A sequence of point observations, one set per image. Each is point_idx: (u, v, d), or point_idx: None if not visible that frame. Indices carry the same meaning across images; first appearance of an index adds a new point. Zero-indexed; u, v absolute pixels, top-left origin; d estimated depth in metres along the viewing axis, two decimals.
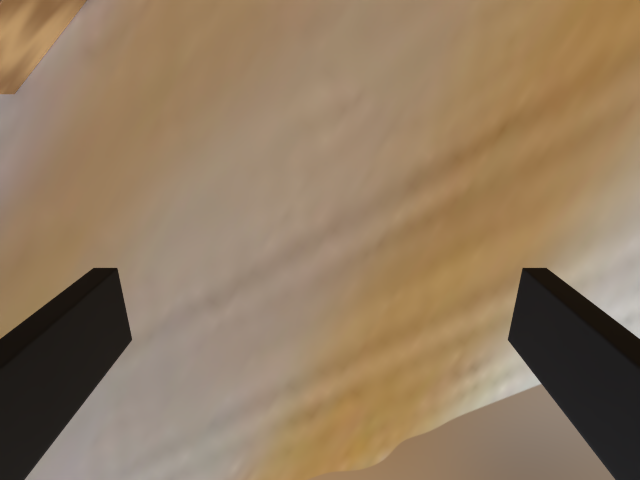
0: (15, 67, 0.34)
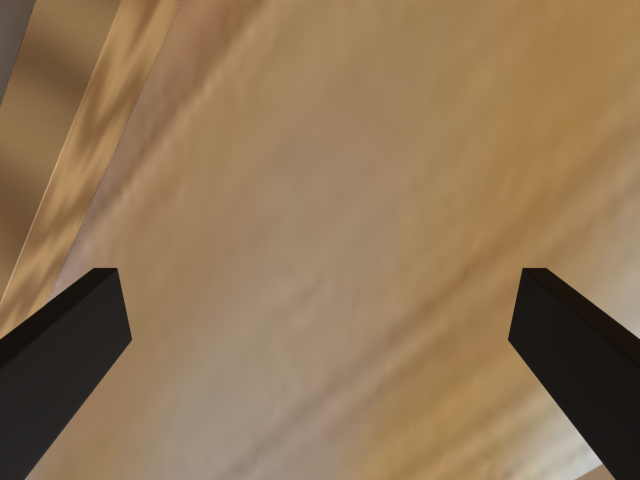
0: None
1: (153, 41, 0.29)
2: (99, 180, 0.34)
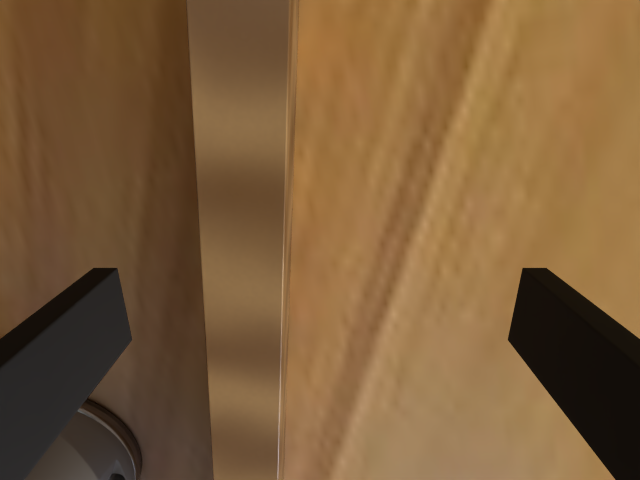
0: None
1: None
2: None
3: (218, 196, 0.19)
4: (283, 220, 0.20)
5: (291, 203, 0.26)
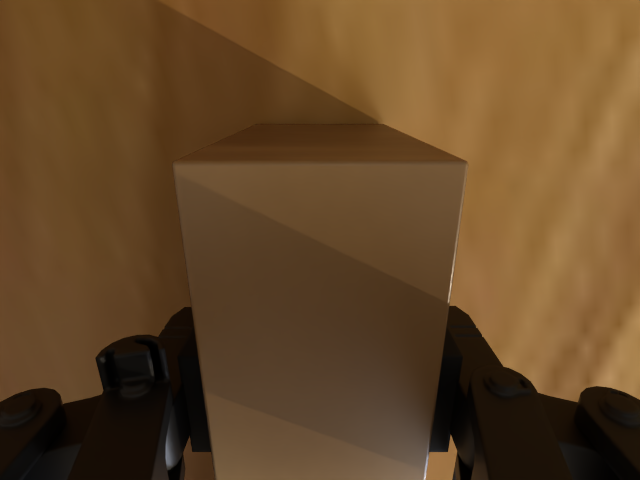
0: None
1: None
2: None
3: None
4: None
5: None
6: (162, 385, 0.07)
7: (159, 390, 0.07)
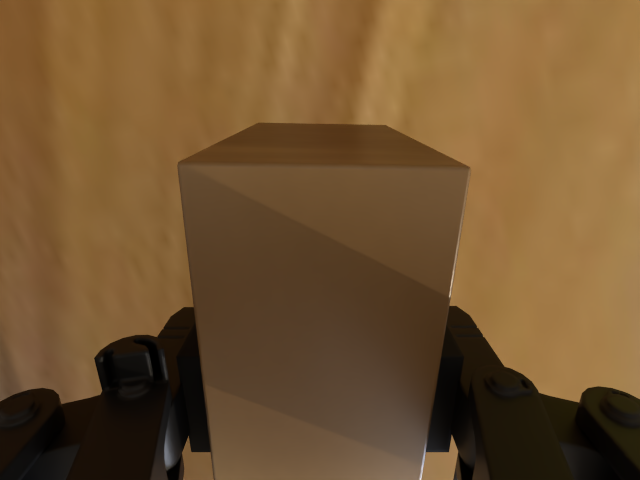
0: None
1: None
2: None
3: None
4: None
5: None
6: (161, 385, 0.07)
7: (158, 390, 0.07)
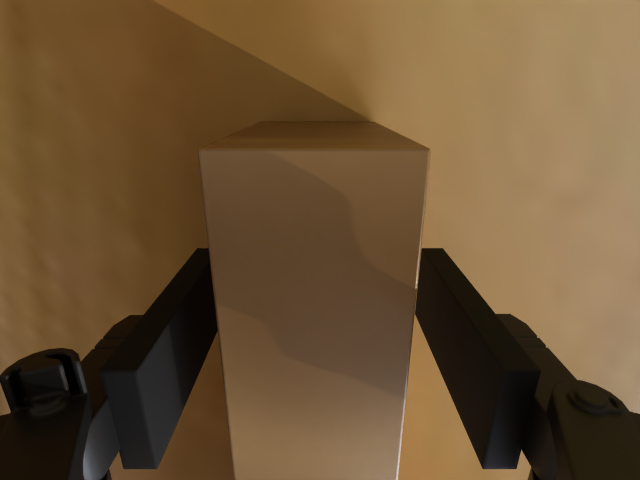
0: None
1: None
2: None
3: None
4: None
5: None
6: (78, 399, 0.07)
7: (75, 405, 0.07)
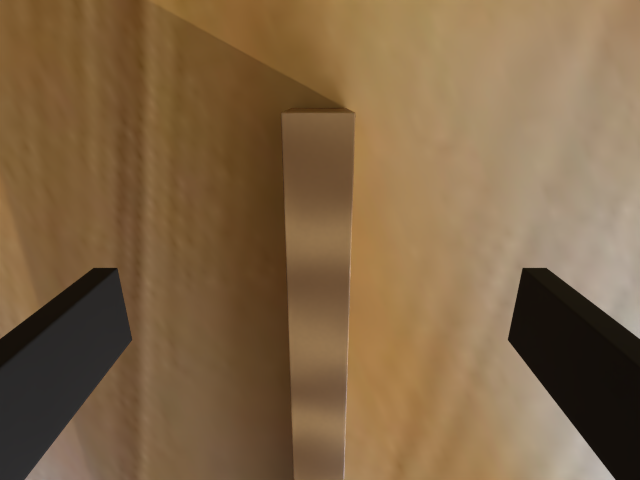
0: None
1: None
2: None
3: (302, 284, 0.27)
4: (348, 298, 0.28)
5: None
6: None
7: None
